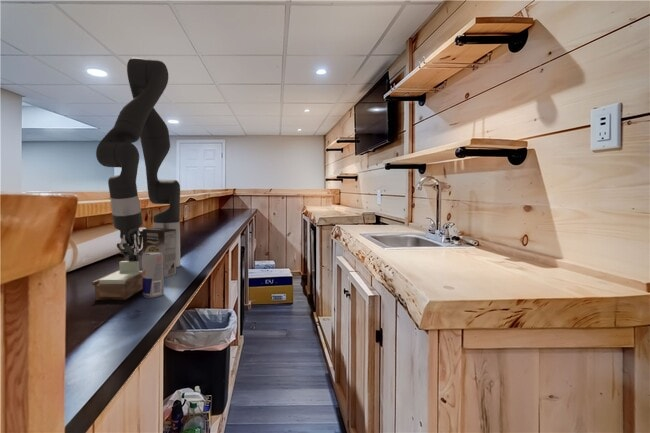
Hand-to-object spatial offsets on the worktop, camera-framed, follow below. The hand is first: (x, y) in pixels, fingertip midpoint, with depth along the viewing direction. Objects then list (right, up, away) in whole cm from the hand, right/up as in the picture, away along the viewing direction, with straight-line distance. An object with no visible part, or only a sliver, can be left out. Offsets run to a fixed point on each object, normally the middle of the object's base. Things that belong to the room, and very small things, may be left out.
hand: (134, 265), depth 111 cm
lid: (0, -3, -7) cm, 8 cm away
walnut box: (0, -7, -7) cm, 10 cm away
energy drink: (+10, -7, -9) cm, 15 cm away
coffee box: (+1, -6, +15) cm, 16 cm away
